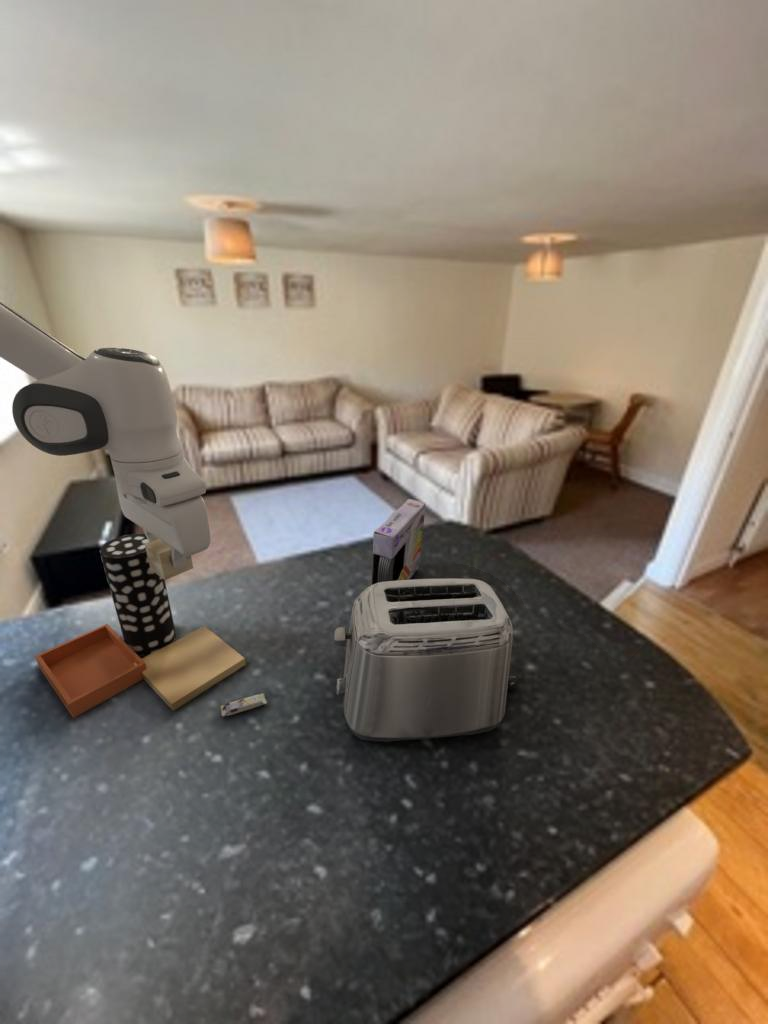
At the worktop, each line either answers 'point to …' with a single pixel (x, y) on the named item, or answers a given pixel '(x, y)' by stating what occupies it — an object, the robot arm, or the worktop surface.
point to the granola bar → (243, 704)
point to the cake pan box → (398, 543)
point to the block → (164, 560)
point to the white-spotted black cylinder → (138, 595)
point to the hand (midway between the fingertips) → (169, 559)
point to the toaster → (425, 660)
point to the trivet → (190, 666)
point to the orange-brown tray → (90, 668)
